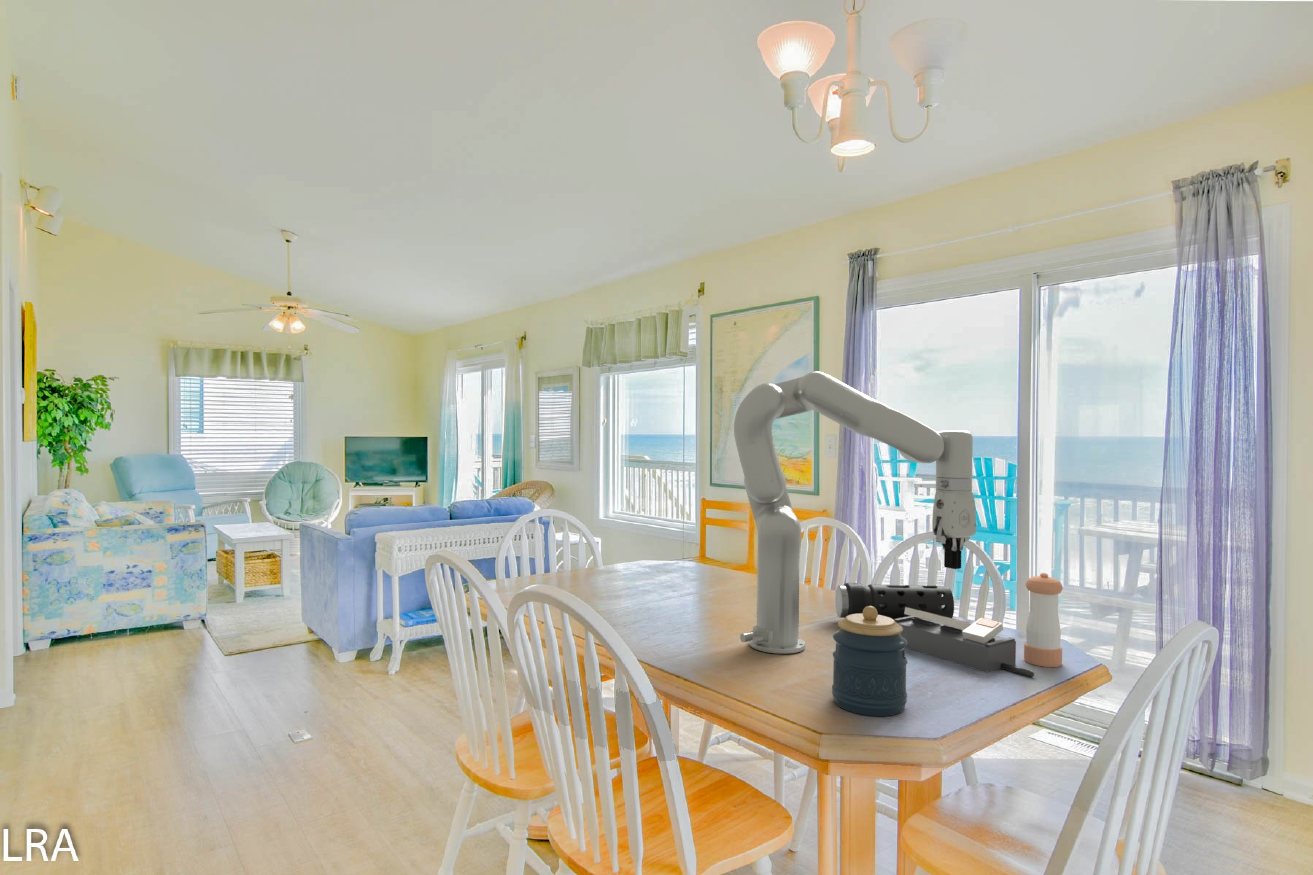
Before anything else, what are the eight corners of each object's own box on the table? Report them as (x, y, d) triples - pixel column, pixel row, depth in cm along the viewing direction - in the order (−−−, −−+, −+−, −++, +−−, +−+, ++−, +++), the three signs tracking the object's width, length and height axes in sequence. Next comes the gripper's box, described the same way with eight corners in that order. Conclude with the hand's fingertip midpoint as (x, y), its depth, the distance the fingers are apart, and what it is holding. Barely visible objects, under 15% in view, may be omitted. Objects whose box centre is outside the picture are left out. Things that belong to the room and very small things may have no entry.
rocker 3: (984, 643, 152) (983, 636, 152) (963, 638, 157) (961, 630, 156) (1003, 629, 156) (1002, 622, 156) (981, 624, 160) (980, 617, 160)
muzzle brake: (954, 629, 183) (955, 588, 183) (842, 627, 184) (843, 586, 184) (940, 620, 193) (941, 581, 193) (834, 618, 193) (834, 579, 193)
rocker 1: (922, 618, 165) (923, 610, 165) (904, 613, 169) (905, 606, 169) (940, 623, 168) (942, 616, 169) (922, 618, 173) (923, 611, 173)
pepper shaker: (1023, 663, 156) (1025, 574, 156) (1024, 654, 162) (1025, 569, 162) (1062, 669, 152) (1064, 577, 152) (1061, 659, 159) (1063, 572, 159)
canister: (833, 687, 140) (835, 595, 139) (905, 695, 136) (906, 601, 136) (829, 712, 127) (831, 611, 127) (908, 721, 123) (909, 617, 123)
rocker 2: (951, 626, 158) (953, 618, 159) (931, 620, 163) (933, 613, 163) (970, 631, 162) (971, 623, 162) (950, 626, 166) (951, 618, 167)
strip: (1019, 682, 144) (1020, 653, 144) (892, 643, 170) (892, 618, 170) (1047, 673, 150) (1047, 645, 150) (919, 637, 175) (920, 613, 175)
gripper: (947, 487, 155) (946, 573, 155) (989, 485, 163) (987, 567, 163) (917, 485, 161) (916, 568, 161) (959, 483, 170) (958, 562, 170)
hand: (952, 567), depth 162 cm, fingers closed
